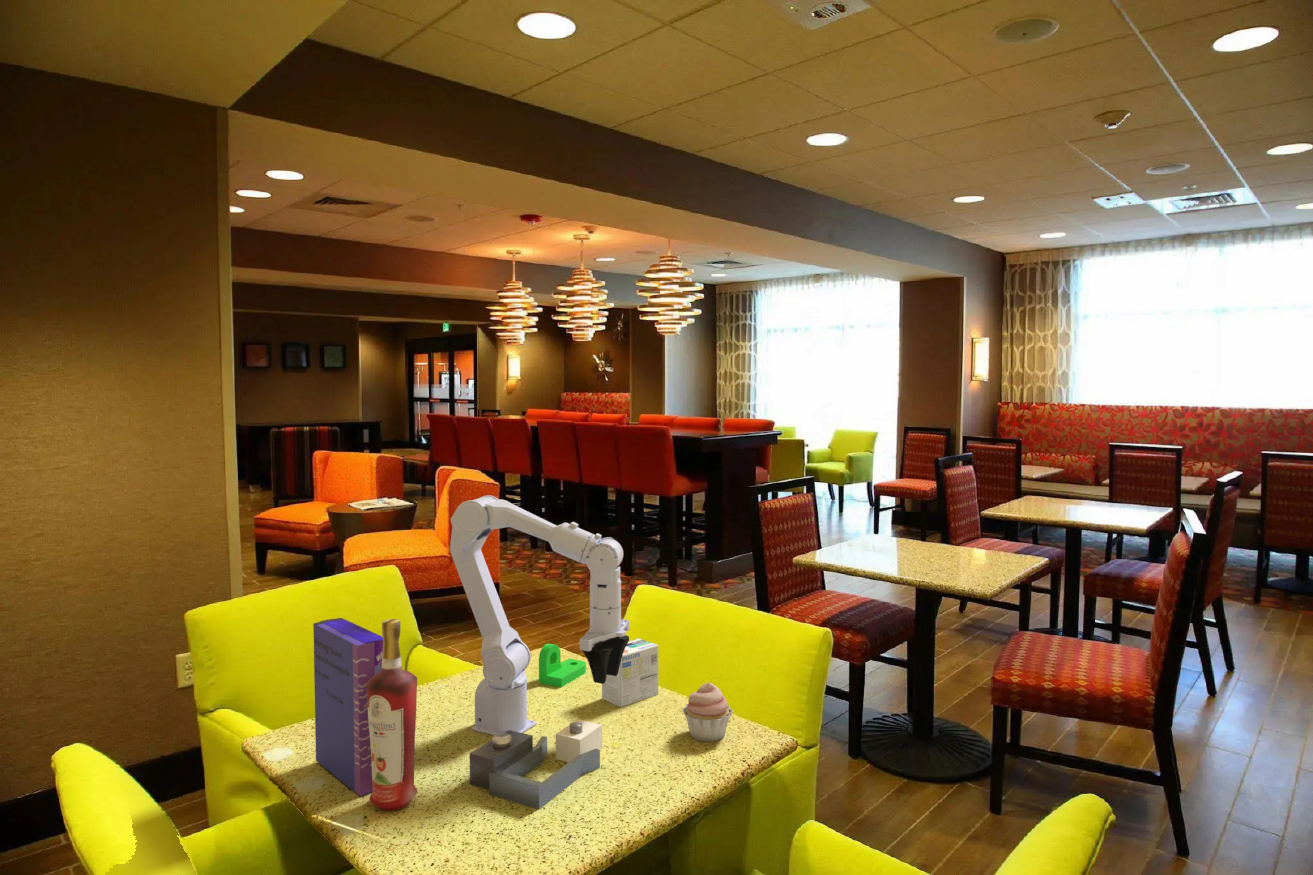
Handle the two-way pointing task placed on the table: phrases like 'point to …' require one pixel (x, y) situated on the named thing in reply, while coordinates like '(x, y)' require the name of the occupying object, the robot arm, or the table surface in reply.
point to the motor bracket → (524, 769)
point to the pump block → (578, 739)
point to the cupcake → (707, 713)
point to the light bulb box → (633, 675)
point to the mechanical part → (558, 667)
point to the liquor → (392, 725)
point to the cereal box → (344, 699)
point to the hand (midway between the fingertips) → (605, 678)
